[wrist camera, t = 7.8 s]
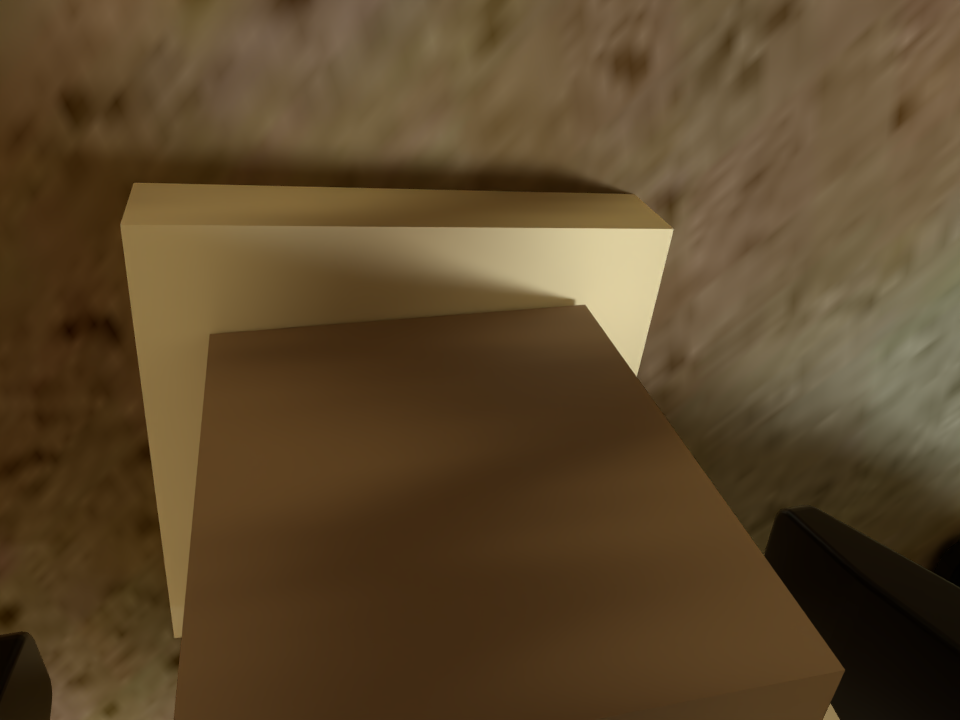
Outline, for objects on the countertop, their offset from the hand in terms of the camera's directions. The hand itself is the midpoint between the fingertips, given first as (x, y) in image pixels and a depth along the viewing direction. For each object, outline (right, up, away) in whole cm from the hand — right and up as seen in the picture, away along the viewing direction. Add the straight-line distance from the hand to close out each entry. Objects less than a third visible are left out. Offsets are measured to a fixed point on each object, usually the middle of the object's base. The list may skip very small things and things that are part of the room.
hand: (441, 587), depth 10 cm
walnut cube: (-1, +1, +2) cm, 3 cm away
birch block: (-1, +2, +4) cm, 5 cm away
